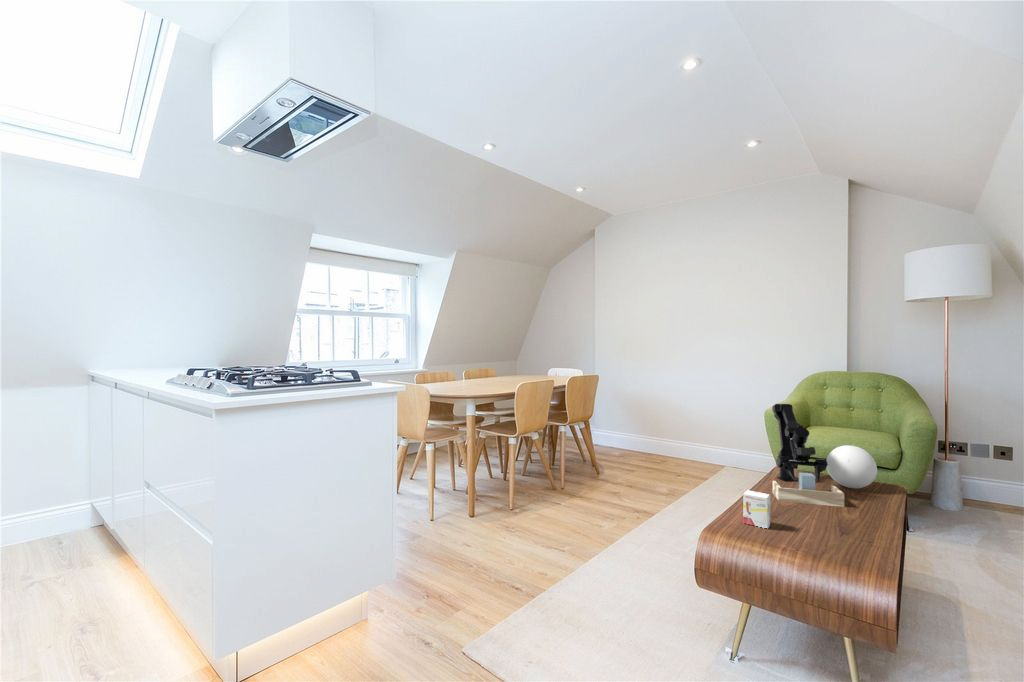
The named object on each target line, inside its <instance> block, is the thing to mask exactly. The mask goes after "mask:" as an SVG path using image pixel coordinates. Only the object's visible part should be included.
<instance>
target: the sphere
mask: <svg viewBox="0 0 1024 682" xmlns="http://www.w3.org/2000/svg"><path fill="white" fill-rule="evenodd" d="M826 461H827V463H828V465H827V467H826V470H827V472H828V474H829V476H830V477H831V478H832V479H833V481H834V482H835V483H837V484H838V485H841V486H842V487H845V488H849V489H862V488H866V487H867V486H869V485H871V484H872V483H873V482H874V481H875V480H876V477H877V474H878V467H877V463H876V460H875V459H874V457H873V456H872V455H871V454H870V453H869V452H868V451H867V450H865V449H864V448H861V447H858V446H856V445H849V444H848V445H847V444H846V445H841V446H837V447H836V448H835V447H834V449H832V450H831V451H830V452H829V454H828V455H827V457H826Z"/></svg>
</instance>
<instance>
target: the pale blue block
mask: <svg viewBox="0 0 1024 682" xmlns="http://www.w3.org/2000/svg"><path fill="white" fill-rule="evenodd" d="M798 489H804V490H816V475H815V474H813V473H811V472H798Z"/></svg>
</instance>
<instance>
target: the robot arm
mask: <svg viewBox="0 0 1024 682" xmlns="http://www.w3.org/2000/svg"><path fill="white" fill-rule="evenodd" d="M793 407H794V406H793V405H792V404H791V403H775V404H774V405H772V408H771V409H772V413H773V416H774V418H775V419H776V420H777V422H778V429H779V431H778V432H779V437H780V446H781V447H780V448H781V449H780V450H779V451H778V455H777V457H776V461H775V464H776V467H777V468H779V476H776V478H777V479H779V480H781V479H782V481H784V482H797V479H796V476H795V469H796V470H798V467H799V466H803V467H805V466H806V467H813V469H814V476H815V481H817V482H820V477H821V476H820V475H821V473H823V472H824V471H826V470H827V465H828V463H827V459H825V458H815V461H810V460H811V456H815V455H816V447H814V446H809V447H806V443H807V442H808V439H809V436H810V431H809V430H808V429H807V427H806V428H805V427H804V425H802V424H800V423H799V422H798V421H797V420H796V416H795V413H794V409H793Z"/></svg>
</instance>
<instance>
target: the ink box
mask: <svg viewBox="0 0 1024 682" xmlns="http://www.w3.org/2000/svg"><path fill="white" fill-rule="evenodd" d="M742 494H743V495H742V496H743V497H742V498H743V499H742V501H743V504H742V505H743V506H742V509H743V511H742V514H743V518H742V521H743V523H746V524H750V525H749V526H751V525H754V526H753V527H756V526H758V527H757V528H760V527H762V528H761V529H764V528H767V529H766V530H768V529H769V528H770V526H771V494H769V493H765V492H764V493H763V492H760V491H753V490H749V489H748V490H745V491H744V492H743V493H742ZM746 524H745V525H746Z"/></svg>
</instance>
